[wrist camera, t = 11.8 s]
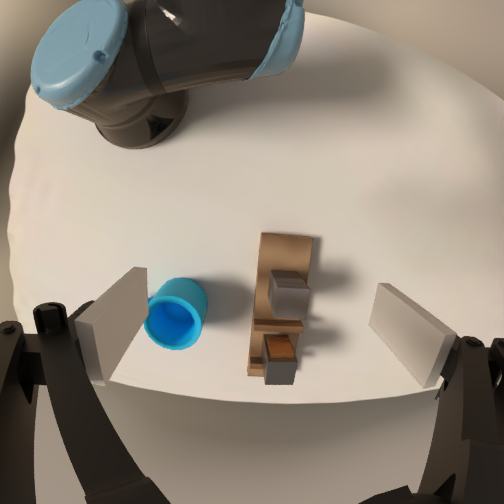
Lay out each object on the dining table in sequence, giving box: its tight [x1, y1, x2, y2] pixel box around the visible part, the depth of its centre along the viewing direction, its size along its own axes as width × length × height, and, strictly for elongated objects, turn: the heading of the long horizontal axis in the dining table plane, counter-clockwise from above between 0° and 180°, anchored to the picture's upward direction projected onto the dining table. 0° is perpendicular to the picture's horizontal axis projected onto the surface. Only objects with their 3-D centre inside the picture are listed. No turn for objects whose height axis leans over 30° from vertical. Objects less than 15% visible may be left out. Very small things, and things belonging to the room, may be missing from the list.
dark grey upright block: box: [261, 334, 298, 385], centre depth 40 cm, size 5×4×8 cm
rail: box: [247, 233, 313, 377], centre depth 40 cm, size 24×7×10 cm, turn 175°
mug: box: [143, 278, 207, 350], centre depth 40 cm, size 12×8×8 cm
